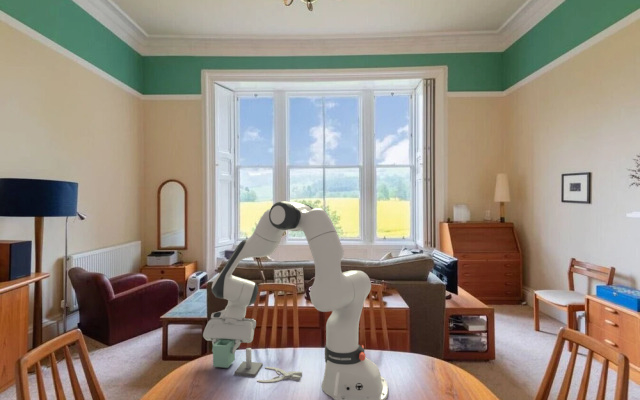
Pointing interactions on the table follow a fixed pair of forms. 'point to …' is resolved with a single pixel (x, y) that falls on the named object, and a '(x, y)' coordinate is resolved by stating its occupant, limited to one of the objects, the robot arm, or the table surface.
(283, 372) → the pliers
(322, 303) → the robot arm
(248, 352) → the post stand
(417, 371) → the table surface
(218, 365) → the sleeve
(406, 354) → the table surface
